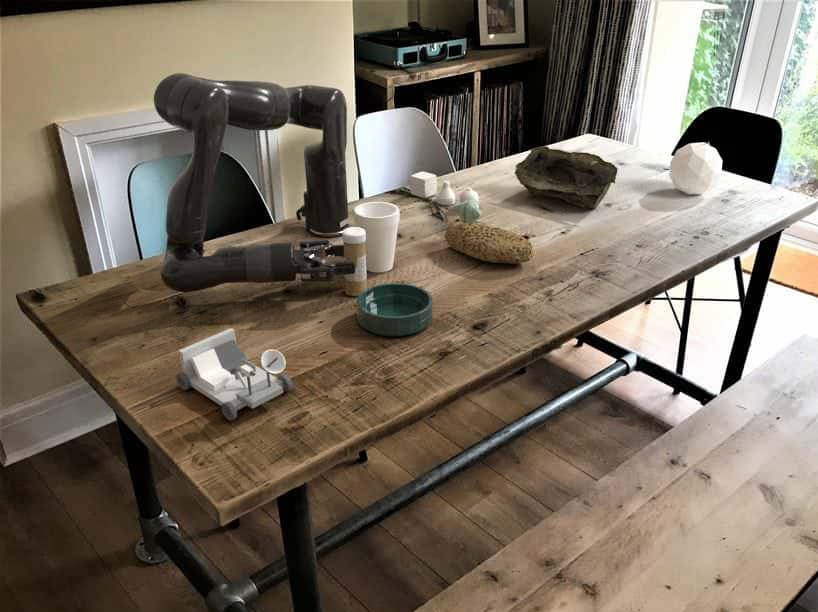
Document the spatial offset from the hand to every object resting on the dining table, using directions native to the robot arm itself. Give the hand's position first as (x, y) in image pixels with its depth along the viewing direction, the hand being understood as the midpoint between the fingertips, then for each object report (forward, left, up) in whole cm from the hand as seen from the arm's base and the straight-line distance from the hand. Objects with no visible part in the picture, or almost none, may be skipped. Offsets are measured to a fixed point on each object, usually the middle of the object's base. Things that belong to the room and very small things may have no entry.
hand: (353, 258), depth 157 cm
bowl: (+12, -8, -8) cm, 16 cm away
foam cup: (-1, +13, -8) cm, 15 cm away
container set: (-1, +56, -8) cm, 57 cm away
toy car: (-2, -40, -8) cm, 40 cm away
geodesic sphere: (+59, +90, -8) cm, 108 cm away
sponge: (+20, +27, -8) cm, 35 cm away
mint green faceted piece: (+10, +42, -8) cm, 44 cm away
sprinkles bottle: (0, 0, -8) cm, 8 cm away
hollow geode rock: (+28, +68, -8) cm, 74 cm away
